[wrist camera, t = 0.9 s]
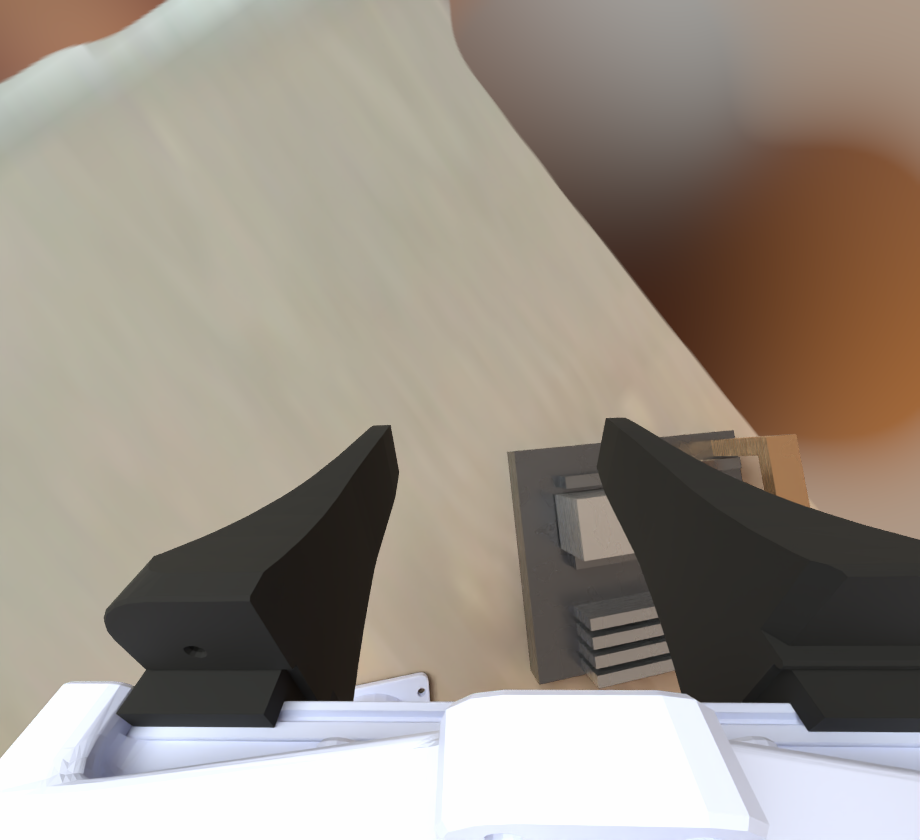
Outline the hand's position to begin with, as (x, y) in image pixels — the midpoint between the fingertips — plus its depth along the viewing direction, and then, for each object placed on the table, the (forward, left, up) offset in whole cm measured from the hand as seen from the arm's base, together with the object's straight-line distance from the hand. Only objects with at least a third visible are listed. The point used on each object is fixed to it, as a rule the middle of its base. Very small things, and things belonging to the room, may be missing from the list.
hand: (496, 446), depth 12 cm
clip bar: (-5, -12, -11) cm, 17 cm away
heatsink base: (-8, -14, -13) cm, 20 cm away
